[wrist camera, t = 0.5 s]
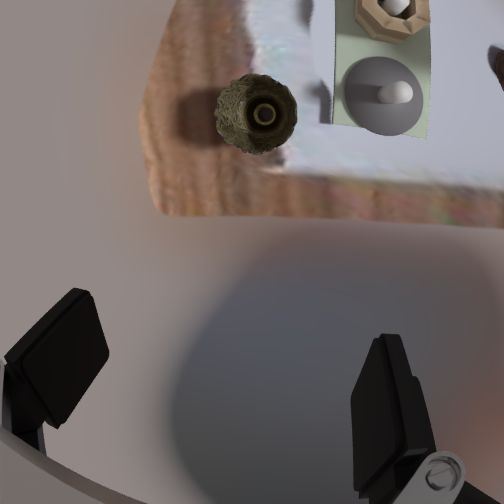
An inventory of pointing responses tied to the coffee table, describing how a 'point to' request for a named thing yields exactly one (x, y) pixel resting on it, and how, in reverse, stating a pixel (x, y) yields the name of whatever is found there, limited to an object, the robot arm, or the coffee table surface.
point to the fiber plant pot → (255, 113)
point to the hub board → (381, 76)
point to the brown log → (500, 68)
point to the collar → (391, 20)
